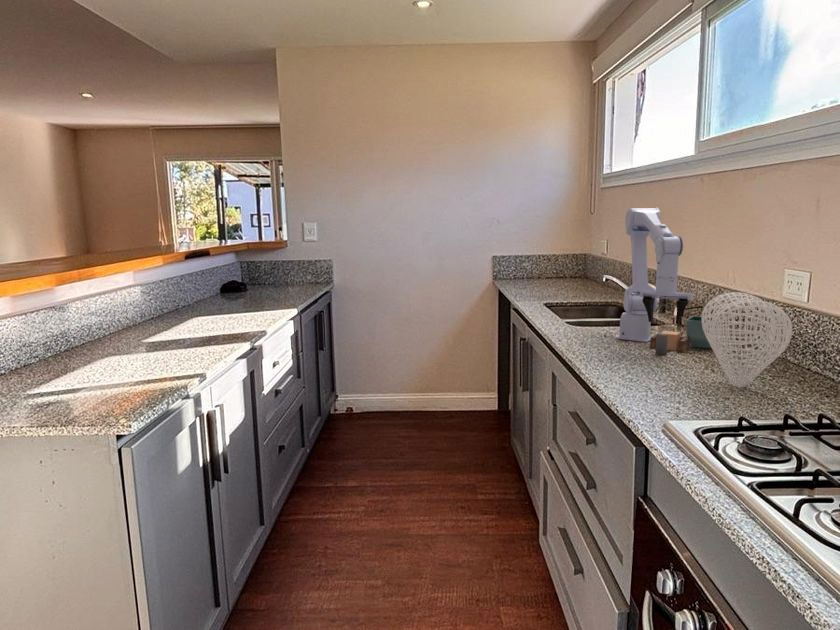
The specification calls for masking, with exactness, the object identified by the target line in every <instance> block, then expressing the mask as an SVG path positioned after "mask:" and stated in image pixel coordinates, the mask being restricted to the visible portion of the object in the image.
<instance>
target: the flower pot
mask: <svg viewBox="0 0 840 630" xmlns="http://www.w3.org/2000/svg"><path fill="white" fill-rule="evenodd" d="M701 319H702V316H696V315H693V316H689V318H687V319H686V320H685V322H686V337H690V346H691V347H692V346H693V348H701V347H702V348H701V349H707V348H708V349H710V348H711V346H710V344H709V342H708V340H707V338H706V336H705V333H704V331H703V327H702V321H701ZM707 320H709V317H708V319H707ZM711 320H712V317H711ZM717 320H718V319H717ZM719 321H720V320H719ZM704 323H705V322H704ZM707 323H708V322H707ZM719 325H720V322H719ZM709 327H710V326H709ZM709 327H708V328H709ZM715 329H716V326H715ZM719 329H720V326H719ZM706 332H707V330H706ZM708 332H709V330H708ZM715 332H716V330H715ZM710 335H711V334H710ZM716 339H717V337H716Z"/></svg>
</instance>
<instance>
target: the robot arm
mask: <svg viewBox="0 0 840 630" xmlns="http://www.w3.org/2000/svg"><path fill="white" fill-rule="evenodd" d="M661 215H662V214H661V210H660V209H659V207H654V208H653V207H652V208H651V207H650V208H648V207H647V208H646V207H645V208H644V207H640V208H633V207H630V208H628V209H627V211H626V214H625V217H624V218H625V221H624V222H625V232H626V235H627V236H630V243H631V244H630V245H631V271H632V272H631V274H632V284H631V285H630V286H628V287H627V288H626V289H625V291H624V292H623V294H624V295H623V309H624V311H625V312H622V314H621V316H620V319H619V320H620V321H619V333H618V334H619V336H618V339H619V340H627V341H634V342H644V343H648V342H650V337H651V323H652V322H653V321H654V313H655V312H656V310H657V308H658V304H659V303H658V301H659V300H658V299H665V300H667V299H668V300H676V315H675V325H680V323H681V319H682V317H683V314H684V312H685V309H686V308H687V306H688V305H689V303H690V301H693V300H694V299H693V297H694V294H693V293H692V292H690V293H689V292H682V291H681V292H679V291H677V287H678V286H677V285H678V275H679V260H680V256H681V255H682V253H683V252H684V251H683V250H684V241H683V238H682V236H681V235H675V234H673V233H672V231H671V230H670V229H669V227H668V226H667V225H666V224H664V223H661V219H662V218H661ZM648 236H649V238H650V239H651V241H652V242H653V244H654V253H655V262H657V263H656V276H655V277H656V279H655V288H654V287H653V286H652V285H650V284H649V277H648V276H649V275H648V251H647V250H648V249H647V248H648V247H647V238H648Z"/></svg>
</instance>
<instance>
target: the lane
mask: <svg viewBox="0 0 840 630" xmlns="http://www.w3.org/2000/svg"><path fill="white" fill-rule="evenodd" d="M657 334H658V333H656V334H653V335H652V336H650V341H649V349H653V350H654V349H656V336H657ZM690 346H691V344H690V337H687V335H686V336H684V335H681V336H680V348H679V349H678V351H679V352H680V353H685V352H686V351H687V350H688V349H690Z"/></svg>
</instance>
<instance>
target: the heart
mask: <svg viewBox="0 0 840 630" xmlns="http://www.w3.org/2000/svg"><path fill="white" fill-rule="evenodd" d="M723 301H724V302H723ZM746 304H747V305H746ZM756 308H758V310H757V309H756ZM743 309H744V311H745V312H742V311H743ZM749 310H750V312H748V311H749ZM762 310H763V311H764V312H762ZM733 311H734V312H733ZM736 311H737V312H736ZM751 311H752V312H751ZM726 315H727V316H726ZM742 316H743V317H744V318H745V319H744V321H742ZM701 317H702V319H701V321H702V327H703V331H704V333H705V336H706V338H707V340H708V342H709V344H710V346H711V347H710V348H711V350H712V351H713V354H714V355H715V357H716V360H717V361H718V363H719V365H720V367H721V368H722V369H721V370H723V373H724V374H725V376H726V377H727V379H728V381H729V382H730V383H731V385H732V386H734V387H735V388H739V389H741V388H743V387H746V386H747V385H749V384H750V383H752V381H753V380H755V378H757V376H758V375H760V374H761V373H762V372H763V371H764V370H765V369H766V368H767V367H768V366H769V365H771V364H772V363H773V362H775V361H776V359H777V358H779V357H780V356H781V355H782V353H784V351H785V350H786V349H787V348H788V346H789V344H790V341H791V340H792V339H791V338H792V335H793V324H792V321H791V318H790V317H789V315H788V314H787V313H786V312H785V311H784V310H783V309H782V308H780V306H778V305H776V304H774V303H771V302H768V301H765V300H762V299H761V298H758V297H757V296H755V295H753V294H750V293H746V292H739V291H733V292H732V291H731V292H726V293H722V294H719V295H717V296H716V297H714V298H712V299H710V301H708V302H707V303H706V305H705V306H704V308H703V309H702V312H701ZM736 317H738V320H739V321H736ZM708 318H709V320H707V319H708ZM711 318H712V320H711ZM749 318H750V321H749ZM717 319H718V320H717ZM730 319H731V320H730ZM719 320H720V321H719ZM704 322H705V323H704ZM707 322H708V323H707ZM719 322H720V325H719ZM742 325H744V329H742ZM763 325H765V326H763ZM709 326H710V327H709ZM715 326H716V329H715ZM719 326H720V329H719ZM730 326H732V327H731V328H730ZM736 326H738V328H735V327H736ZM752 326H753V327H752ZM708 327H709V328H708ZM758 327H759V328H760V329H759V330H758ZM752 328H753V330H752ZM706 330H707V332H706ZM708 330H709V332H708ZM715 330H716V332H715ZM710 334H711V335H710ZM736 335H738V336H736ZM742 335H744V336H742ZM716 337H717V339H716ZM758 337H759V338H758ZM737 339H738V340H737ZM742 339H744V340H742ZM748 339H749V341H748ZM742 345H744V348H743V346H742ZM748 345H750V346H751V347H748ZM737 346H738V347H737ZM757 347H758V348H757ZM755 348H757V349H755ZM734 351H735V353H734ZM740 351H741V354H740ZM738 357H739V358H741V359H739V358H738ZM738 362H739V363H738ZM735 369H736V370H735Z"/></svg>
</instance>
